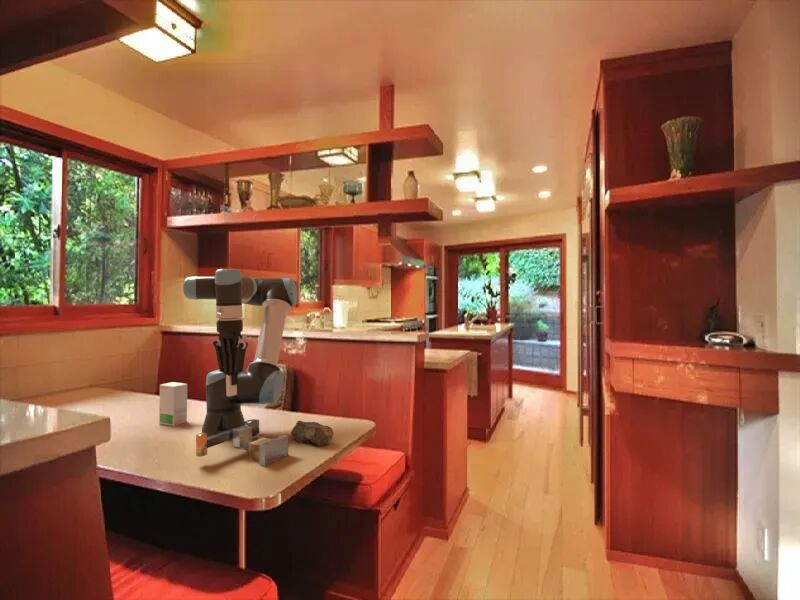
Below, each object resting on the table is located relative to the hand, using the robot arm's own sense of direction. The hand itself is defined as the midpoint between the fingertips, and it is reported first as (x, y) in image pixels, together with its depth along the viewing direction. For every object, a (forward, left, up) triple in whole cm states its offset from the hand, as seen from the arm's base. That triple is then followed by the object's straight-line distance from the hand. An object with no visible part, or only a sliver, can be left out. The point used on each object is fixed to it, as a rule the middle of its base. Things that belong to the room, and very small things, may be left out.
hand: (231, 395), depth 134 cm
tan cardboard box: (+9, +4, -19) cm, 22 cm away
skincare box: (-50, +16, -19) cm, 56 cm away
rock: (+14, +22, -20) cm, 33 cm away
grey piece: (+4, +6, -19) cm, 21 cm away
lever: (-1, +1, -16) cm, 16 cm away
